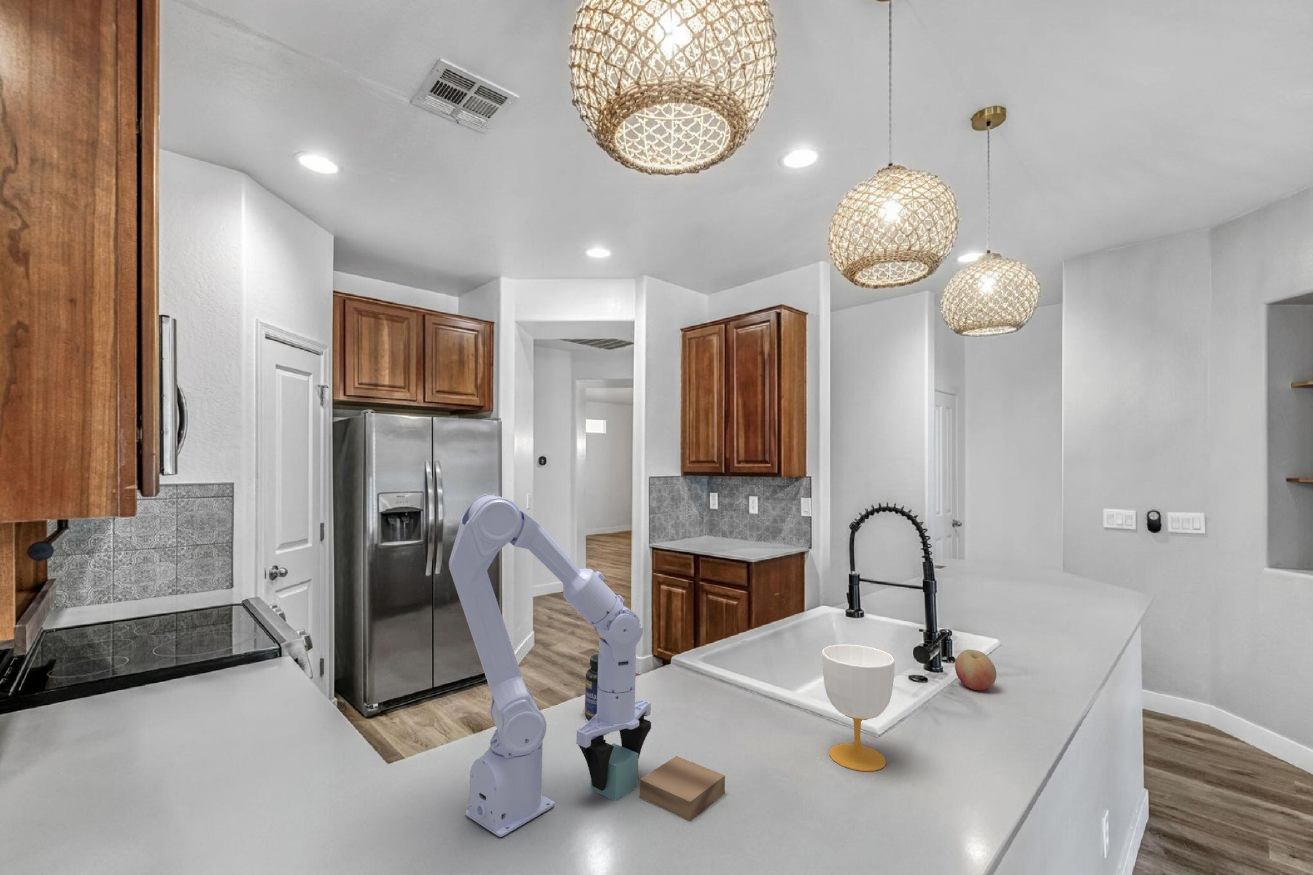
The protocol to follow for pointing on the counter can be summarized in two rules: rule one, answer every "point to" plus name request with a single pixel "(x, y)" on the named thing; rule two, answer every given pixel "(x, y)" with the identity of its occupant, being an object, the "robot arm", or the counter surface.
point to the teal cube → (620, 773)
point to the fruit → (975, 670)
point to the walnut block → (682, 787)
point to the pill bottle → (591, 688)
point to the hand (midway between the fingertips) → (614, 777)
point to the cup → (858, 696)
